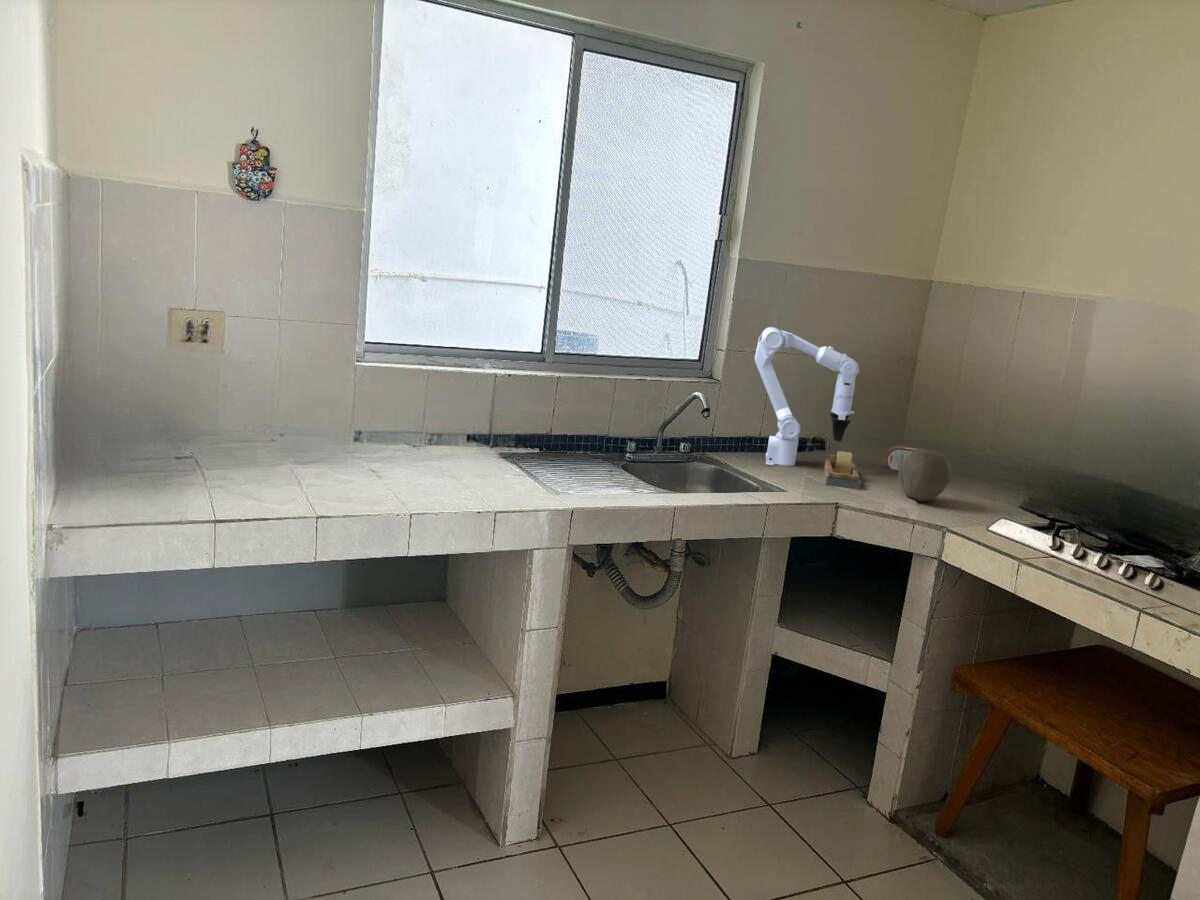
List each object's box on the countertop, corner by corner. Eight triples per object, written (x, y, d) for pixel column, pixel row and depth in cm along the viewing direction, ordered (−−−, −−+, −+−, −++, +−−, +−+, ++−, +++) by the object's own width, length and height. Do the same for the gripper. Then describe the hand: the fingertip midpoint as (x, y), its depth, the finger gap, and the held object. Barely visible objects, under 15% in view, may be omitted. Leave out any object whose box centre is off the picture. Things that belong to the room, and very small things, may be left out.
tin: (928, 474, 307) (932, 449, 305) (930, 476, 304) (935, 451, 302) (881, 468, 308) (886, 443, 306) (883, 470, 305) (887, 445, 303)
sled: (827, 483, 276) (830, 467, 275) (824, 468, 296) (826, 454, 295) (857, 487, 275) (859, 471, 274) (851, 472, 294) (854, 457, 293)
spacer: (835, 475, 283) (838, 453, 282) (834, 473, 287) (837, 450, 286) (848, 477, 283) (852, 455, 281) (847, 474, 287) (851, 452, 285)
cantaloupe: (939, 510, 261) (949, 458, 258) (889, 499, 268) (897, 448, 265) (950, 501, 273) (959, 451, 270) (901, 490, 280) (910, 441, 277)
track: (823, 487, 274) (825, 477, 273) (819, 466, 302) (820, 457, 301) (862, 492, 272) (863, 483, 272) (853, 470, 300) (855, 461, 299)
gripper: (858, 401, 285) (851, 444, 288) (855, 394, 299) (848, 436, 302) (834, 398, 286) (828, 441, 289) (832, 391, 300) (826, 433, 303)
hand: (837, 438), depth 295 cm, fingers open, 7 cm apart
